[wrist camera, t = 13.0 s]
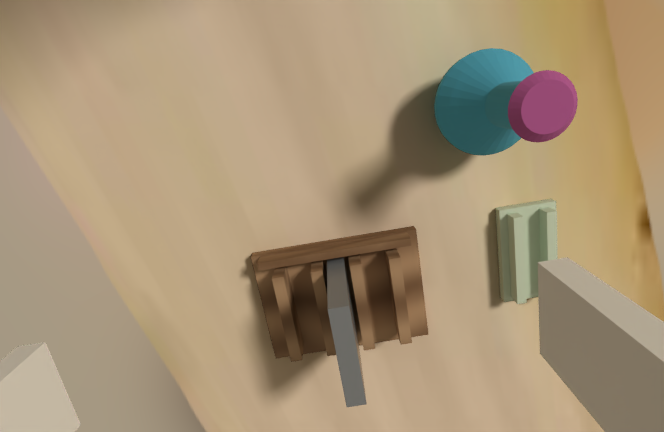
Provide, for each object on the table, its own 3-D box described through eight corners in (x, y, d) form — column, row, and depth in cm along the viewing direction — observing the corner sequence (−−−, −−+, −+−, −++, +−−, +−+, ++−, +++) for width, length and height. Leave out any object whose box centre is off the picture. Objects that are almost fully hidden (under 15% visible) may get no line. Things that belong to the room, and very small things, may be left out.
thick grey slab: (327, 257, 44) (327, 309, 34) (343, 255, 44) (349, 305, 33) (342, 336, 47) (346, 407, 36) (357, 334, 47) (366, 404, 36)
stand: (495, 207, 44) (505, 214, 41) (551, 198, 44) (564, 205, 41) (500, 297, 47) (510, 309, 45) (552, 289, 47) (565, 300, 44)
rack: (252, 252, 45) (245, 269, 41) (413, 226, 44) (422, 239, 40) (277, 352, 49) (272, 376, 45) (425, 328, 48) (435, 351, 44)
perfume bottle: (431, 157, 42) (486, 190, 28) (416, 66, 40) (468, 50, 25) (519, 137, 42) (621, 159, 27) (510, 43, 39) (616, 14, 25)
